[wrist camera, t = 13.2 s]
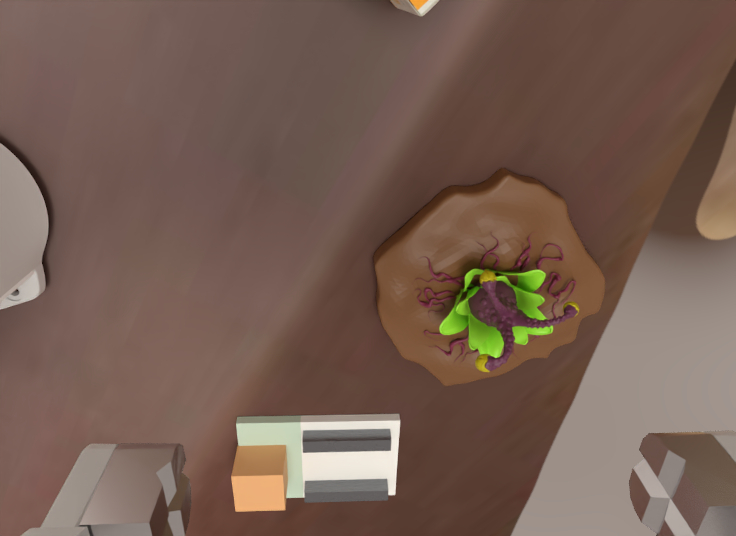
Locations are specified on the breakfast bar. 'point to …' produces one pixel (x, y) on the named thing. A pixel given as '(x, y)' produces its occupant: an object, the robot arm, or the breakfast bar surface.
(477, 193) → the plant
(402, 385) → the breakfast bar surface
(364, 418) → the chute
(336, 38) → the breakfast bar surface
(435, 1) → the supplement box
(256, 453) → the orange block
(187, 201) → the breakfast bar surface
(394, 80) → the breakfast bar surface
